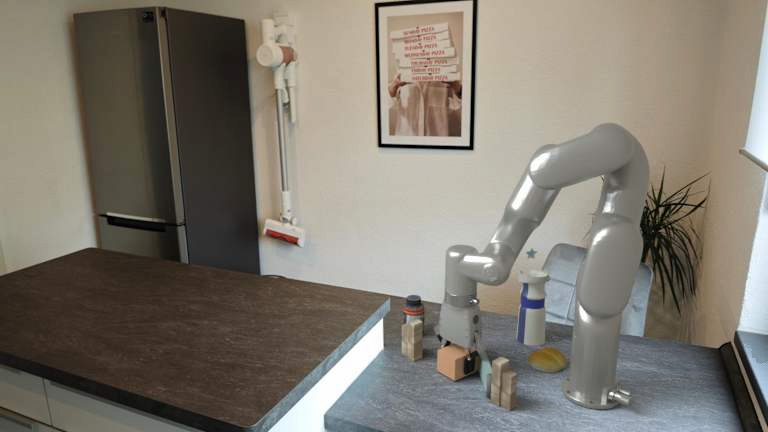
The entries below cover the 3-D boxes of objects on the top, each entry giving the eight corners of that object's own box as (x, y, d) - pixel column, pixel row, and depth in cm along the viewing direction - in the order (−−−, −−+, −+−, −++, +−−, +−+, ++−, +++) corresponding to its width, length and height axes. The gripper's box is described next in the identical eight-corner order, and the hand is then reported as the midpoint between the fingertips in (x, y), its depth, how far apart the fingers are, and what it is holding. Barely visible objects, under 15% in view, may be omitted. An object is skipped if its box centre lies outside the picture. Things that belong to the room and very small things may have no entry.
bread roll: (521, 363, 134) (522, 349, 133) (546, 354, 139) (547, 340, 138) (547, 378, 127) (548, 362, 127) (572, 367, 132) (573, 353, 131)
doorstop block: (478, 370, 130) (479, 349, 129) (454, 381, 125) (455, 359, 124) (460, 360, 135) (461, 340, 133) (437, 370, 130) (437, 349, 129)
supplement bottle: (404, 329, 153) (404, 292, 151) (424, 330, 152) (425, 293, 150) (401, 339, 148) (402, 300, 145) (423, 340, 147) (423, 301, 144)
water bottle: (507, 336, 149) (511, 250, 143) (531, 330, 152) (536, 246, 147) (526, 348, 142) (532, 258, 136) (552, 342, 145) (558, 254, 139)
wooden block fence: (516, 406, 116) (519, 364, 113) (508, 411, 114) (510, 369, 112) (408, 350, 141) (408, 315, 139) (400, 354, 139) (400, 318, 137)
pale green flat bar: (495, 398, 118) (496, 377, 117) (486, 398, 118) (487, 377, 117) (477, 348, 141) (478, 330, 140) (470, 348, 141) (471, 331, 140)
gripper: (500, 304, 122) (496, 375, 126) (443, 284, 134) (442, 349, 139) (479, 313, 117) (476, 387, 121) (423, 291, 130) (421, 359, 134)
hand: (458, 366), depth 130 cm, fingers closed on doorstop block, 6 cm apart
